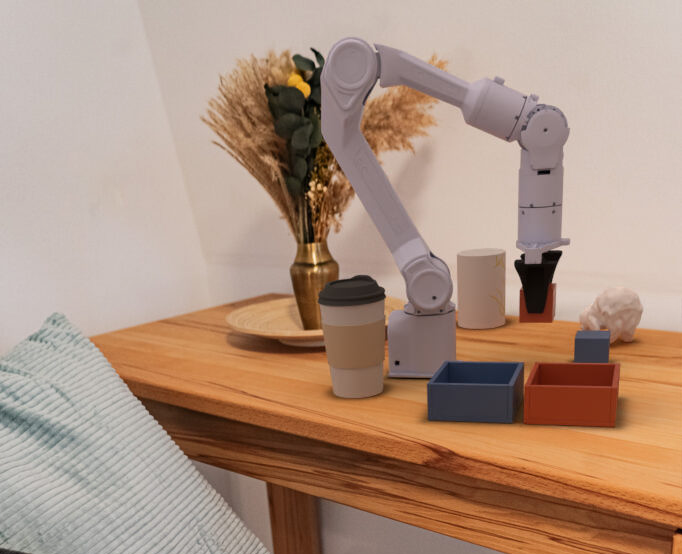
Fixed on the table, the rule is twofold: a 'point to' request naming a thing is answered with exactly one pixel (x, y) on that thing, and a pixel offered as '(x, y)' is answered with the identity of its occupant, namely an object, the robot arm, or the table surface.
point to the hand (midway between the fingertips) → (537, 309)
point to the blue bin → (476, 391)
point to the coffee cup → (354, 335)
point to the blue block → (592, 347)
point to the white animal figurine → (613, 313)
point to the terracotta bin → (572, 394)
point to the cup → (481, 288)
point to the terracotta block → (539, 317)
